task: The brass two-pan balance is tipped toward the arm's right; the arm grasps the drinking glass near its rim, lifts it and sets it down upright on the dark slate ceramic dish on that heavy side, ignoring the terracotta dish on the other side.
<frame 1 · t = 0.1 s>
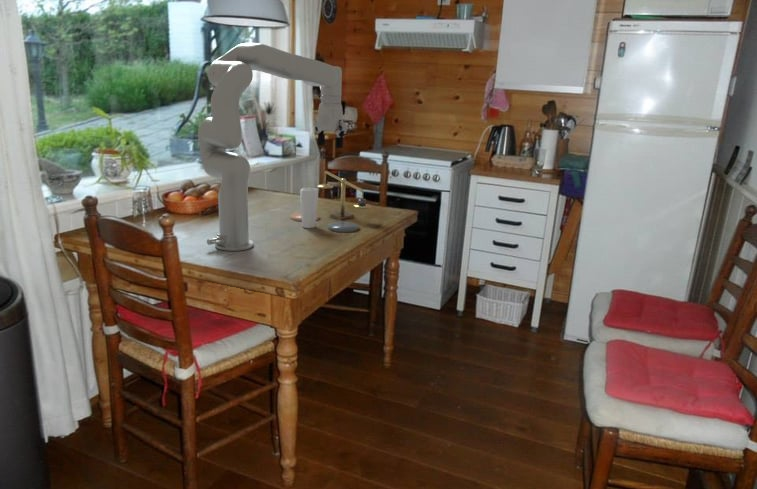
hand: (330, 146, 213), 31 cm above the table, fingers open, 9 cm apart
dish slate: (342, 228, 217), on the table
dish terracotta: (304, 217, 229), on the table
drinking glass: (308, 227, 217), on the table
balance: (342, 217, 233), on the table
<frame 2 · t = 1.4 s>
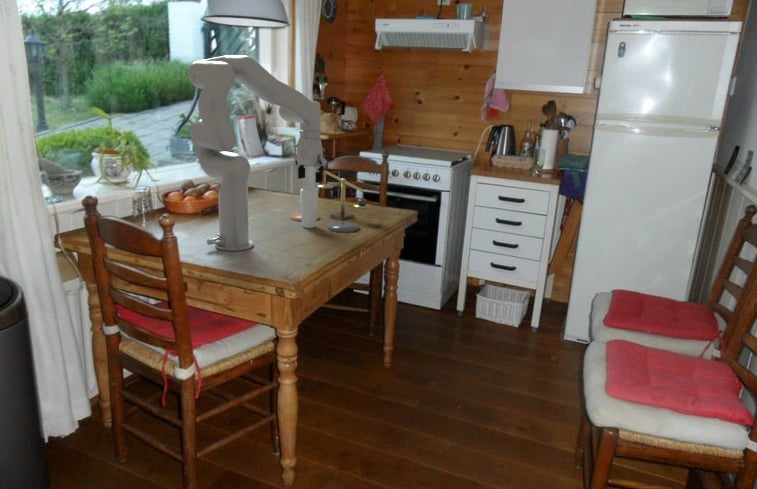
hand: (310, 180, 212), 18 cm above the table, fingers open, 9 cm apart
nothing on the table moved.
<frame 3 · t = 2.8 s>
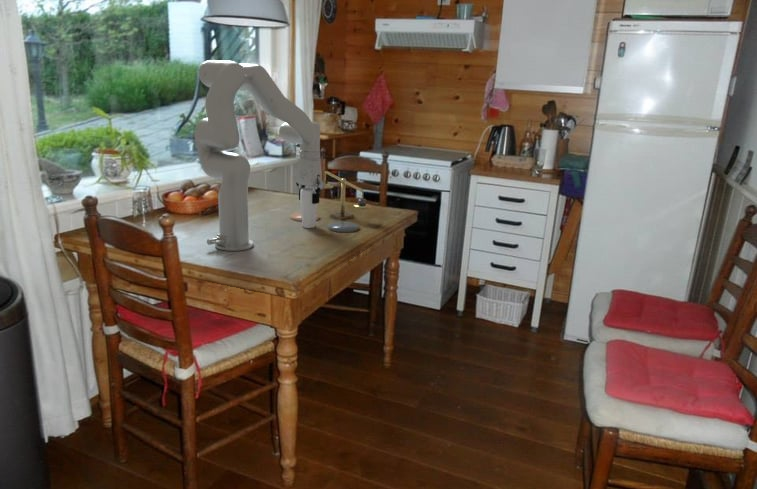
hand: (309, 201, 214), 10 cm above the table, fingers closed on drinking glass, 6 cm apart
drinking glass: (308, 227, 217), on the table, touching gripper
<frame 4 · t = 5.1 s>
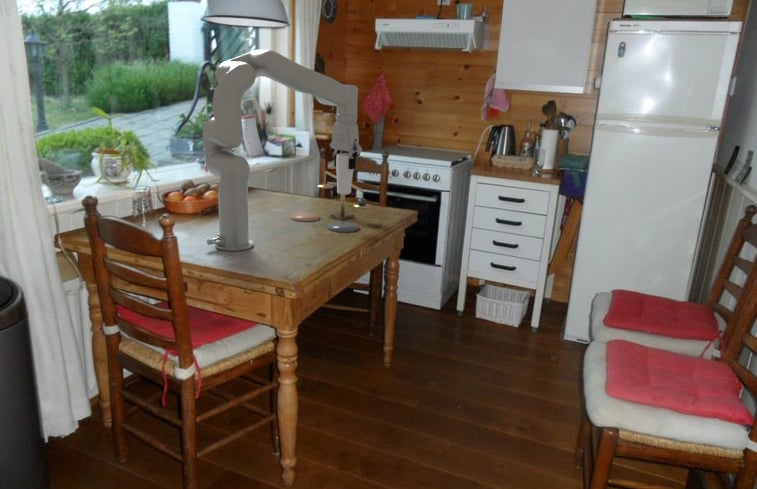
hand: (344, 167, 210), 24 cm above the table, fingers closed on drinking glass, 6 cm apart
drinking glass: (343, 193, 213), point 14 cm above the table, touching gripper
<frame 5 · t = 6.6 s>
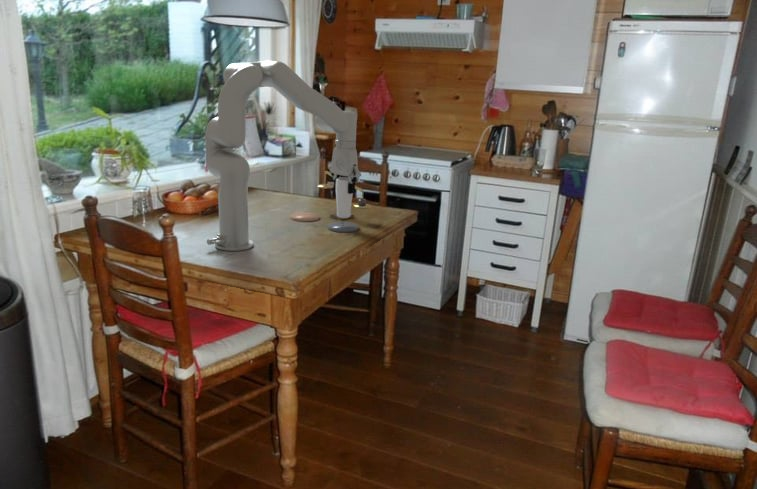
hand: (344, 191, 213), 15 cm above the table, fingers closed on drinking glass, 6 cm apart
drinking glass: (343, 217, 216), point 4 cm above the table, touching gripper
when the fingers open (13 cm above the table, at t = 7.7 s): drinking glass drops 1 cm, resting on dish slate.
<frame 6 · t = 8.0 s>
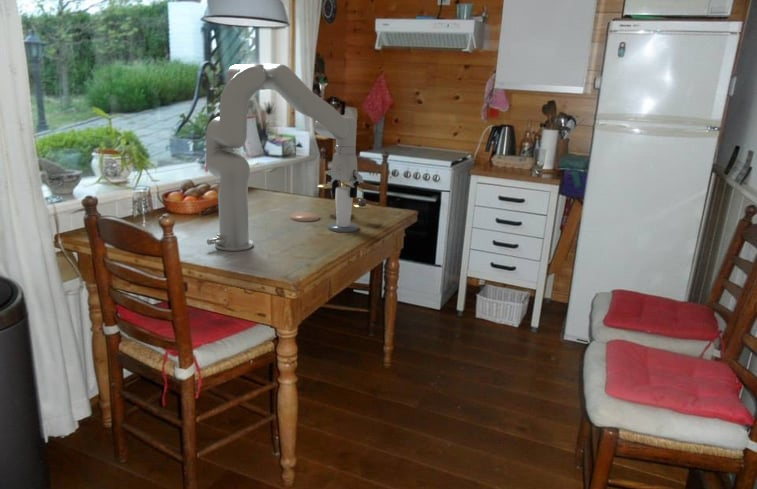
hand: (344, 195, 213), 13 cm above the table, fingers open, 9 cm apart
drinking glass: (343, 226, 217), point 1 cm above the table, touching dish slate
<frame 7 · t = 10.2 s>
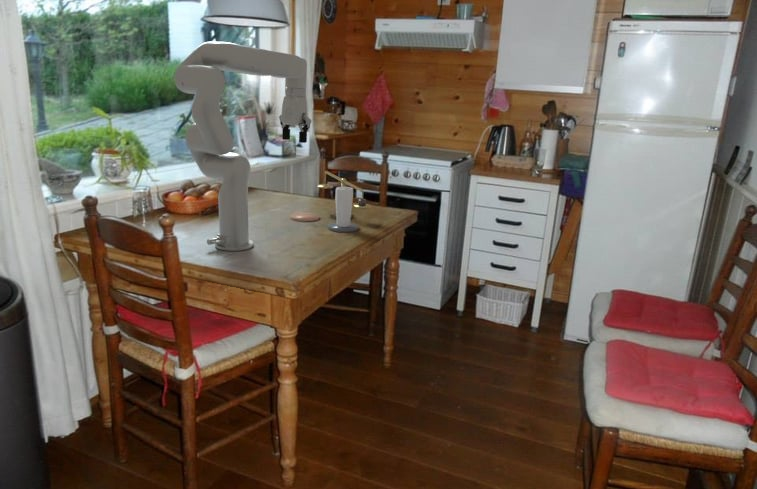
hand: (294, 141, 205), 33 cm above the table, fingers open, 9 cm apart
nothing on the table moved.
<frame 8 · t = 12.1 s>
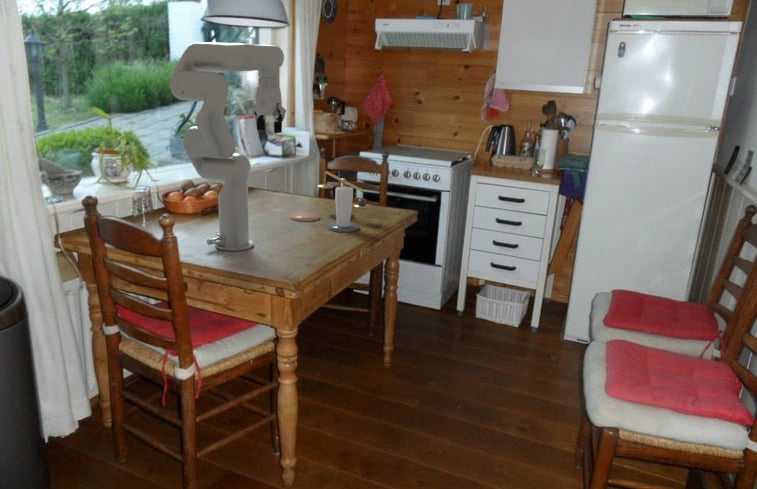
hand: (269, 131, 204), 36 cm above the table, fingers open, 9 cm apart
nothing on the table moved.
at the end: drinking glass 0.3 cm from the dish slate (horizontally); drinking glass tilted 0°; the gripper is holding nothing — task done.
